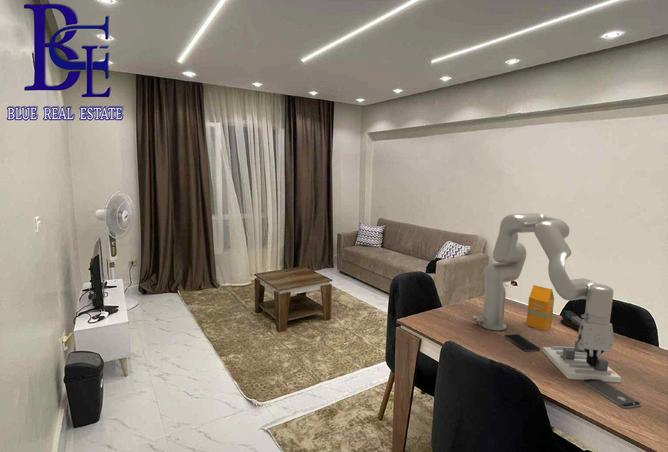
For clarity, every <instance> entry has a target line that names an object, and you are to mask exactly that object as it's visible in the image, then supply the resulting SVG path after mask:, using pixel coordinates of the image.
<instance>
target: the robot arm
mask: <svg viewBox="0 0 668 452" xmlns="http://www.w3.org/2000/svg"><path fill="white" fill-rule="evenodd" d="M499 224H500V226H499V230H498V231H499V232H498V235H497V239H496V241H495V244H494V248H493V251H492V259H493V260H494V261H495V262H494V263H490V264H488V265H486V266H485V267H484V270H483V278H484V297H483V308H482V309H483V310H482V313H481V314H480V315H479V316H476V315H473V316H472V320H473V321H476V322H478V324H479V325H480V327H482V328H484V329H487V330H490V331H496V332H497V331H505V330H506V329H507V325H508V324H507V323H505V322H504V319H505V307H506V298H507V297H506V295H507V293H506V288H505V285H504V283H508V282H509V283H510V282H514V281H516V280H517V279H519V278H520V276H521V273H522V270H523V267H524V266H525V262H526V259H527V249H526V247H525V245H524V244H523V243H520V242H518V241H519V233H521V234H524V233H534V235H535V237H536V239H537V241H538V242H539V245H540V246H541V247H542V249H543V251H544V253H545V255H546V257H547V260H548V268H547V269H548V271H547V273H548V278H549V280H550V283H551V284H552V286H553V288H554V290H555V292H556V293H557V295H558V296H559V297H561V299H563V300H565V301H576V300H577V301H578V300H586V302H585V311H584V314H582V313H581V315H580V317H581V319H582V322H581V325H580V328H579V330H578V333H577V340H576V341H577V342H578V346H577V348H578V349H579V350H583V351H585V352H586V353H587V358H586V362H587V363H588V364H589V365H590V366H591V367H593V366H594V367H596V364H597V361H598V358H601V355H602V354H603V353H607V352H610V351H611V350H612V349H613V346H614V329H613V328H614V327H613V324H612V323H611V315H612V314H611V313H612V308H613V300H614V289H613V288H612V287H610V286H608V285H605V284H599V283H597V282H595V281H593V280H590V279H588V278H576V279H575V278H573V279H571V278H570V277H569V275H568V273H567V271H566V267H565V265H566V264H565V263H566V260H567V259H568V258H569V257H570V256H571V255H572V250H571V248H570V247H569V245H568V244H567V241H566V240H565V239H566V238H567V237H568V236H569V234H570V227H569V224H567V223H566V222H565V221H564V220H561V219H559V218H556V217H552V216H549V215H546V214H542V213H537V212H536V213H535V212H533V213H532V212H531V213H512V214H508V215H506V216H504V217H503V218H502V219H501V221H500V223H499Z"/></svg>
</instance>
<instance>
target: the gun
mask: <svg viewBox="0 0 668 452" xmlns="http://www.w3.org/2000/svg"><path fill="white" fill-rule="evenodd" d="M560 316H561V318H562V319H560V323H561V324H567V325H568V327H571V328H573V329H574V330H577V331H579V328H580V325H581V322H582V320H583V318H582V317H581V318H580V317H579V316H578V315H577V314H576V313H574V312H573V311H572V310H562V311H561V313H560Z"/></svg>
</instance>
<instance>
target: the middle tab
mask: <svg viewBox="0 0 668 452" xmlns="http://www.w3.org/2000/svg"><path fill="white" fill-rule="evenodd" d="M574 357H575V351H574V350H573V349H572V348H563V357H562V358H563V359H564V360H565V359H569V360H574Z"/></svg>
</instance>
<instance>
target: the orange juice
mask: <svg viewBox="0 0 668 452" xmlns="http://www.w3.org/2000/svg"><path fill="white" fill-rule="evenodd" d="M554 303H555V297H554V292H553V288H547V287H543V286H538V285H533V286H532V288H531V292H530V294H529V297H528V305H527V313H526V326H529V327H532V328H534V329H537V330H541V331H544V332H546V331H547V330H549V329H551V328H552V322H553V315H554Z"/></svg>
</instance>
